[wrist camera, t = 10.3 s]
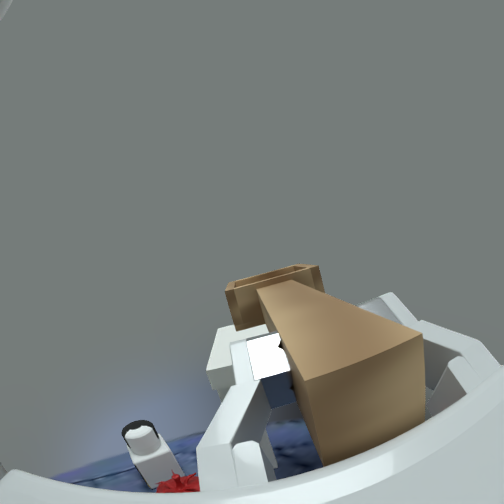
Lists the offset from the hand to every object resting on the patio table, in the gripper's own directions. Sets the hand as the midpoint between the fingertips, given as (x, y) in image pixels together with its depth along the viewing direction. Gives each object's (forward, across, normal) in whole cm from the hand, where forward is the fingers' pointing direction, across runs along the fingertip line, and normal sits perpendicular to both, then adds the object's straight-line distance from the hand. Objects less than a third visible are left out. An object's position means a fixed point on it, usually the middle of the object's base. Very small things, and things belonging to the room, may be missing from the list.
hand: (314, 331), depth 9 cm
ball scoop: (+4, 0, +4) cm, 6 cm away
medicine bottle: (+10, +26, +42) cm, 51 cm away
